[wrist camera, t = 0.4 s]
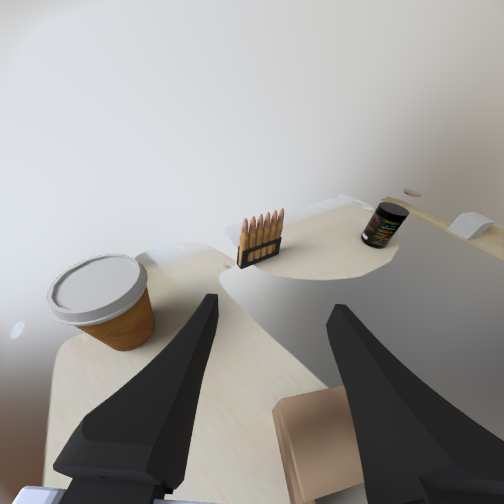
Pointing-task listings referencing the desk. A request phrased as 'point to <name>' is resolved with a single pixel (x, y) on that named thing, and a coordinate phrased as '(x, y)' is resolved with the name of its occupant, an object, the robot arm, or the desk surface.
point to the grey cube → (470, 225)
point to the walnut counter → (317, 444)
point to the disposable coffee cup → (105, 300)
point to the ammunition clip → (260, 239)
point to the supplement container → (383, 224)
